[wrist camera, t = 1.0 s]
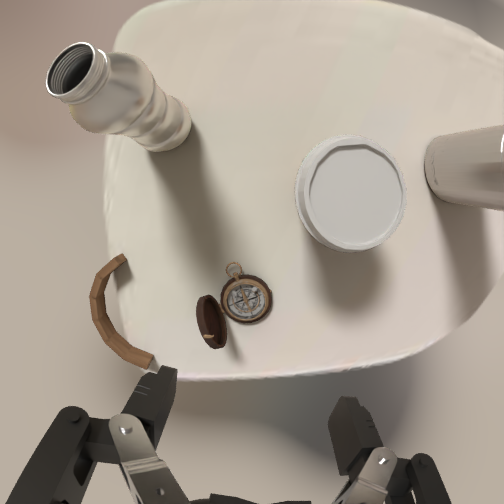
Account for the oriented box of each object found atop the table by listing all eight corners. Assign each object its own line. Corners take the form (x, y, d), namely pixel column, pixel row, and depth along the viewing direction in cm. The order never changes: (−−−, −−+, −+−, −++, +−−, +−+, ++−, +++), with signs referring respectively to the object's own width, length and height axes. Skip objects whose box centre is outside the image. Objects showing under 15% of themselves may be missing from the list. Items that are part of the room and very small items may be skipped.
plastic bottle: (191, 155, 31) (105, 116, 11) (137, 153, 30) (19, 128, 11) (199, 103, 29) (134, 11, 10) (145, 102, 29) (45, 35, 10)
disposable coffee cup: (370, 170, 31) (425, 165, 19) (342, 243, 33) (385, 272, 21) (298, 137, 30) (322, 111, 18) (269, 214, 32) (277, 230, 20)
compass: (278, 310, 35) (284, 340, 28) (219, 329, 36) (212, 361, 28) (257, 251, 33) (258, 269, 26) (195, 273, 34) (180, 295, 27)
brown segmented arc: (125, 252, 33) (116, 257, 31) (154, 359, 37) (149, 369, 34) (86, 258, 33) (76, 263, 31) (117, 359, 37) (110, 368, 34)
